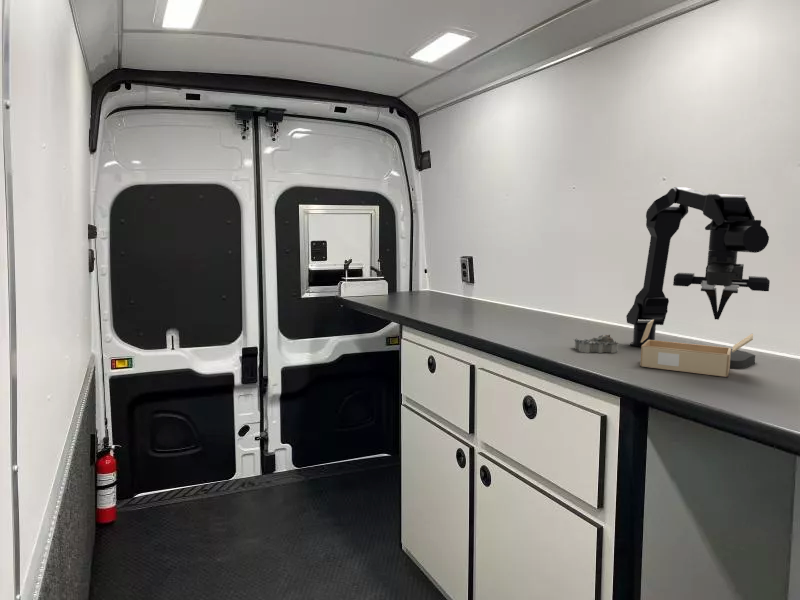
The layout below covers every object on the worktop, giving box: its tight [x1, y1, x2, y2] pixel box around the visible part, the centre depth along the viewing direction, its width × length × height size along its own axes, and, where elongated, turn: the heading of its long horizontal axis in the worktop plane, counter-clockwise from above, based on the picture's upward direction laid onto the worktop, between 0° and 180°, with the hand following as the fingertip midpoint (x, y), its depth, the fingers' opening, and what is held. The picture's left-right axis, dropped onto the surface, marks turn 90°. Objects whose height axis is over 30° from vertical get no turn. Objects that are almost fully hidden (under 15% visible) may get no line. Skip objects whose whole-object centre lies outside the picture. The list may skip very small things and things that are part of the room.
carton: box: [639, 339, 732, 378], centre depth 134 cm, size 11×18×5 cm, turn 58°
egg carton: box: [573, 334, 620, 354], centre depth 154 cm, size 11×8×4 cm
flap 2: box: [731, 333, 754, 352], centre depth 128 cm, size 8×1×5 cm
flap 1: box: [641, 319, 654, 342], centre depth 138 cm, size 8×1×5 cm, turn 148°
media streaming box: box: [730, 348, 756, 370], centre depth 143 cm, size 15×15×3 cm
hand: (716, 319), depth 131 cm, fingers closed
